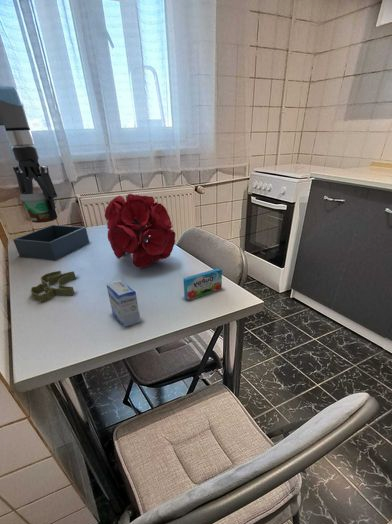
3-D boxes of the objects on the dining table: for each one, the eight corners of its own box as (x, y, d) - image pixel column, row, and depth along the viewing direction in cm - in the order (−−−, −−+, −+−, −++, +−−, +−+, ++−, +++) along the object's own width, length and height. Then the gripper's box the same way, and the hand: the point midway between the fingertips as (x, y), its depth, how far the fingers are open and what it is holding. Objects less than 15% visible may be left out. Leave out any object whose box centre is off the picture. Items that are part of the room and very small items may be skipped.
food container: (35, 225, 110) (25, 195, 104) (28, 222, 113) (18, 194, 107) (66, 218, 117) (58, 190, 111) (58, 216, 120) (50, 188, 114)
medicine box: (112, 314, 77) (105, 284, 72) (128, 309, 79) (122, 279, 74) (124, 327, 72) (118, 295, 67) (141, 321, 74) (135, 290, 69)
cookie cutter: (73, 297, 86) (71, 291, 85) (29, 304, 83) (27, 297, 82) (77, 274, 100) (75, 268, 98) (39, 279, 97) (37, 273, 96)
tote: (19, 256, 116) (12, 239, 112) (56, 240, 133) (52, 224, 129) (55, 260, 112) (49, 242, 108) (89, 242, 128) (85, 227, 124)
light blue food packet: (187, 300, 82) (186, 280, 78) (184, 298, 83) (183, 278, 79) (221, 289, 87) (222, 269, 83) (218, 287, 88) (218, 267, 84)
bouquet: (104, 281, 111) (132, 261, 85) (82, 217, 107) (105, 176, 81) (154, 270, 122) (192, 249, 96) (136, 212, 118) (171, 174, 92)
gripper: (54, 145, 101) (73, 216, 115) (9, 146, 106) (33, 214, 120) (38, 146, 95) (60, 221, 109) (-8, 147, 101) (18, 218, 115)
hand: (46, 217), depth 115 cm, fingers closed on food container, 7 cm apart
